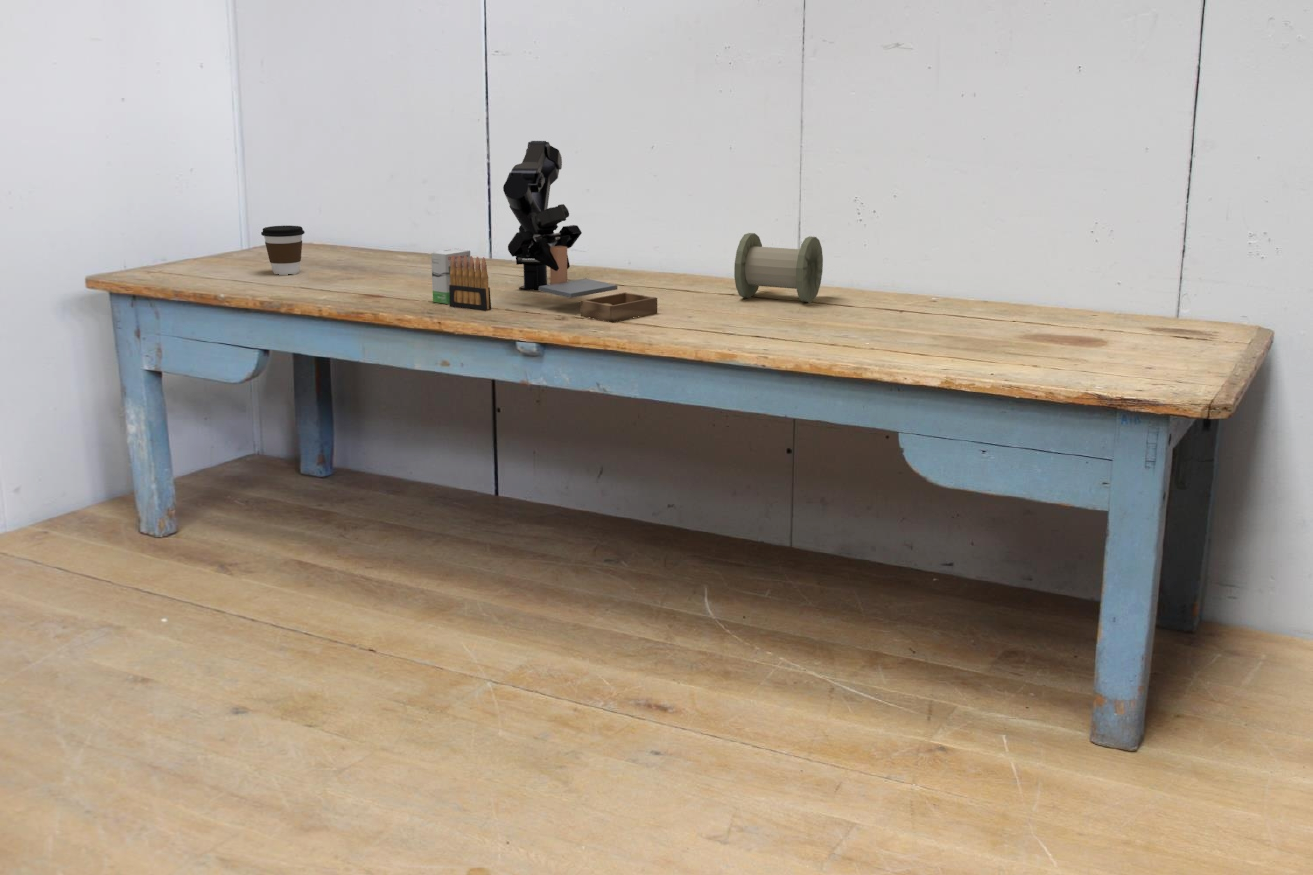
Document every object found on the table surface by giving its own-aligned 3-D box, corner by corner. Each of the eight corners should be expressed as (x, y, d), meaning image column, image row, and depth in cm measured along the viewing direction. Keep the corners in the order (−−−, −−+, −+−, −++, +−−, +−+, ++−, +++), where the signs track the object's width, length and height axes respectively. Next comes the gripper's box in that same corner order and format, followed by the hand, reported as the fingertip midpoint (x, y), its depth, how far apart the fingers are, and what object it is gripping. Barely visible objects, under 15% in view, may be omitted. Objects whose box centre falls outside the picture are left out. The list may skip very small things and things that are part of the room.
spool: (821, 296, 308) (823, 233, 304) (801, 307, 295) (803, 241, 291) (756, 291, 315) (757, 230, 311) (733, 302, 302) (734, 237, 298)
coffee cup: (316, 272, 343) (313, 227, 340) (284, 278, 334) (280, 231, 331) (287, 269, 349) (284, 224, 346) (255, 274, 340) (251, 228, 337)
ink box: (447, 304, 299) (444, 253, 295) (431, 302, 302) (429, 251, 298) (473, 299, 305) (471, 249, 302) (458, 297, 308) (455, 247, 305)
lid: (531, 289, 295) (530, 249, 292) (578, 281, 305) (578, 242, 302) (570, 298, 286) (570, 257, 283) (617, 289, 296) (617, 250, 293)
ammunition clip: (491, 309, 293) (489, 256, 289) (486, 311, 291) (484, 258, 288) (454, 305, 298) (451, 253, 295) (449, 306, 296) (446, 254, 293)
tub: (580, 316, 285) (580, 300, 284) (625, 307, 295) (625, 292, 294) (612, 322, 279) (612, 306, 278) (657, 313, 288) (657, 297, 287)
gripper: (514, 196, 289) (548, 251, 285) (575, 190, 302) (609, 242, 298) (492, 228, 296) (526, 282, 292) (553, 221, 309) (586, 272, 305)
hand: (563, 269), depth 297 cm, fingers closed on lid, 3 cm apart
